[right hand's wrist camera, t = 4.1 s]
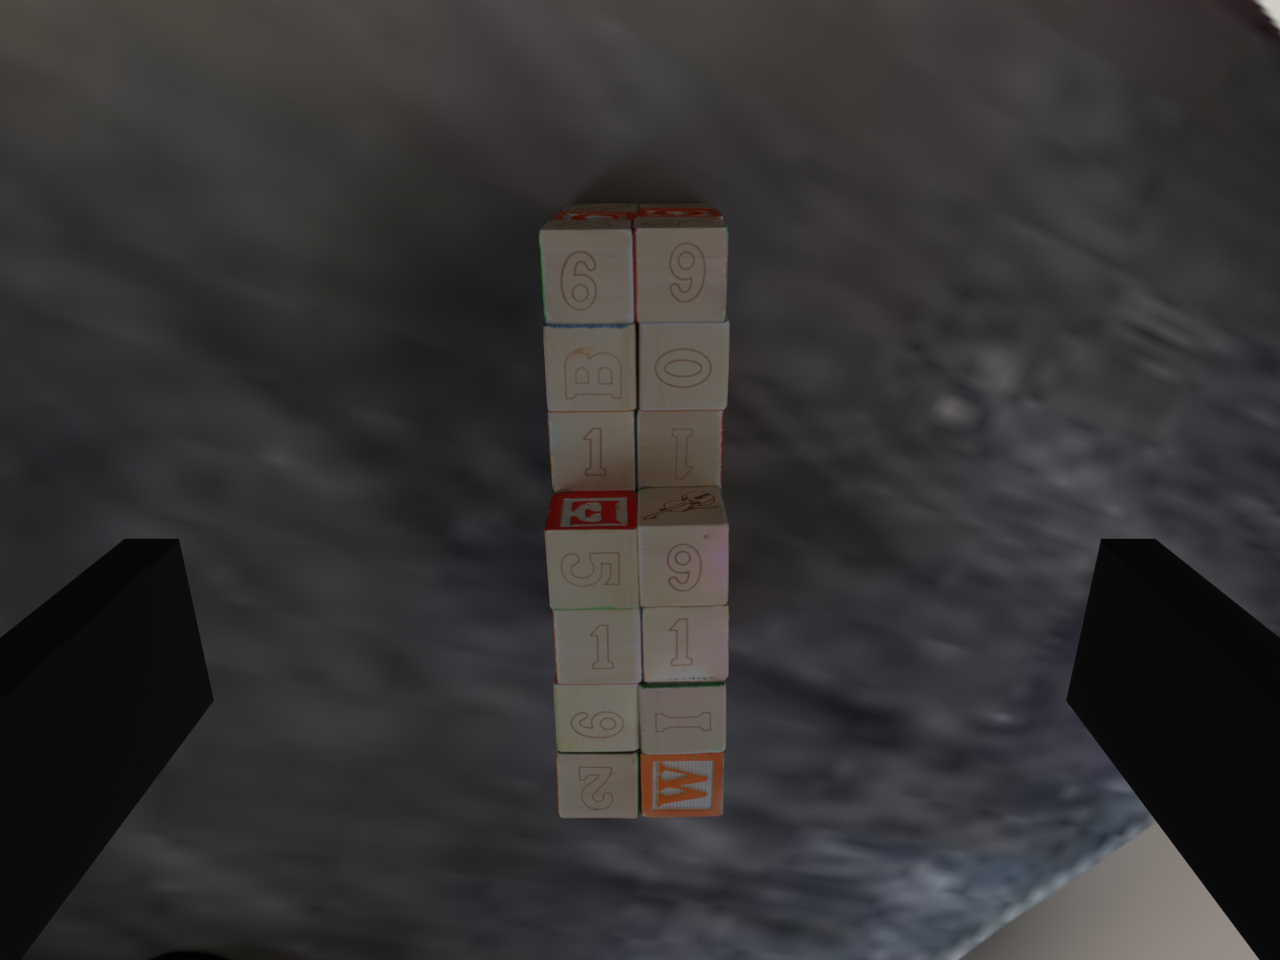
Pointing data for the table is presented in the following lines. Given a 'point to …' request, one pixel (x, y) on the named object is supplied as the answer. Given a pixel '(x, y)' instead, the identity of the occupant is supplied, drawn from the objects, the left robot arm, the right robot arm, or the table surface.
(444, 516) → the table surface
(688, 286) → the stack of blocks
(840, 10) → the table surface
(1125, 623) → the right robot arm
